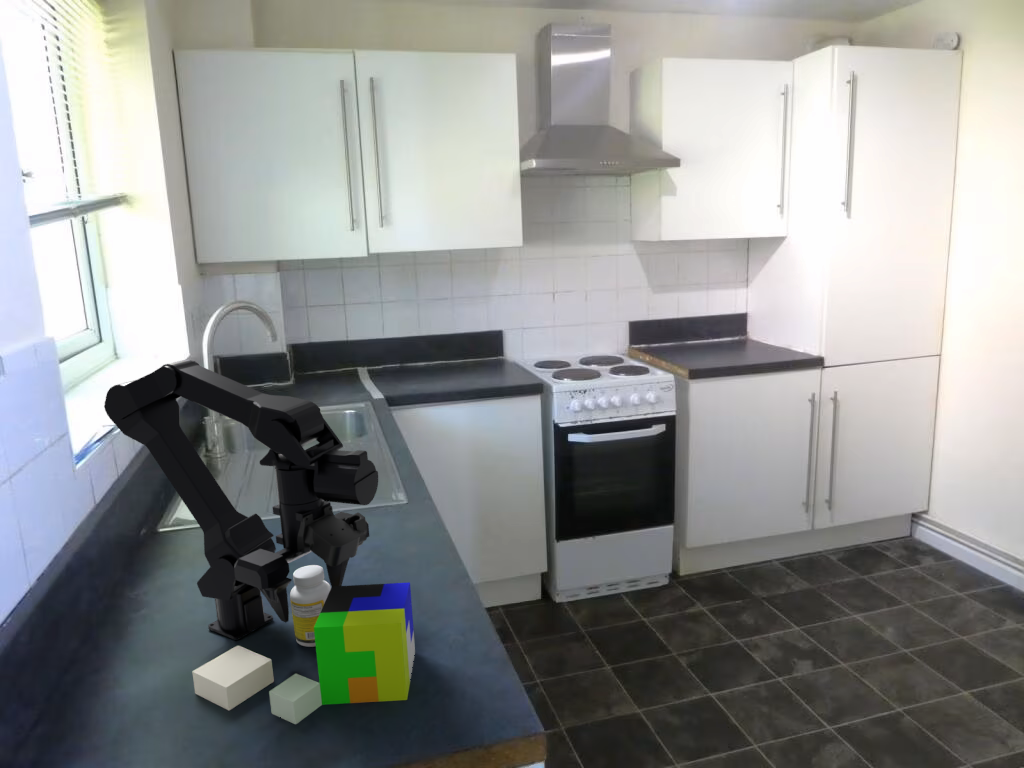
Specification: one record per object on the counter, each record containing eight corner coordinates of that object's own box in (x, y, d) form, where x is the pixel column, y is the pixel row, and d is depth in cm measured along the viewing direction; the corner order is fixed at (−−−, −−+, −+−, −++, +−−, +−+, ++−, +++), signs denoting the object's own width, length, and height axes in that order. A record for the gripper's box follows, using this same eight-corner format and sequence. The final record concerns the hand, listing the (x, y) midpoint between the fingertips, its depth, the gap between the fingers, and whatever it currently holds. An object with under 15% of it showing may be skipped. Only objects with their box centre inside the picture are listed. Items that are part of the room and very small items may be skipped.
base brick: (195, 693, 89) (192, 671, 88) (240, 666, 94) (237, 645, 93) (229, 710, 85) (226, 687, 85) (274, 681, 91) (271, 659, 90)
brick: (271, 714, 85) (269, 691, 84) (298, 695, 88) (295, 673, 87) (295, 725, 82) (293, 702, 82) (322, 705, 86) (319, 683, 85)
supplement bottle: (316, 623, 104) (309, 559, 102) (344, 632, 101) (337, 567, 99) (286, 641, 99) (279, 575, 97) (315, 652, 97) (308, 584, 95)
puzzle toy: (415, 652, 96) (410, 582, 94) (407, 700, 86) (401, 622, 84) (338, 656, 96) (331, 586, 94) (321, 705, 86) (313, 627, 84)
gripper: (285, 534, 84) (298, 656, 87) (394, 485, 100) (402, 590, 103) (225, 517, 90) (239, 632, 93) (336, 473, 105) (345, 573, 109)
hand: (311, 605), depth 99 cm, fingers open, 9 cm apart
